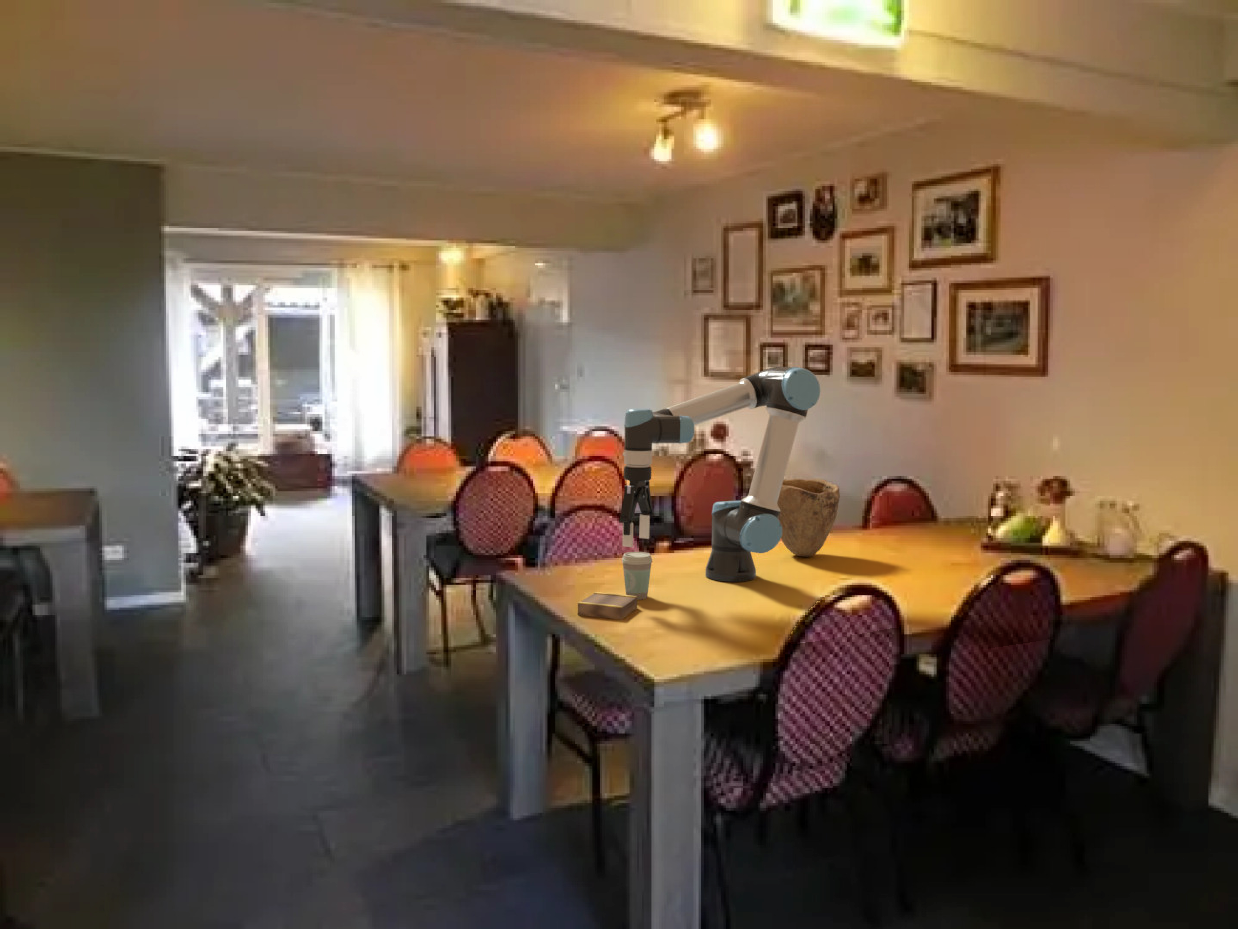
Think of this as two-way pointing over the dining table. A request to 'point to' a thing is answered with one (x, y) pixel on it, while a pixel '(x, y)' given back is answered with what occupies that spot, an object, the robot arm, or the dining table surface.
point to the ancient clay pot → (807, 514)
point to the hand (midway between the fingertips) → (636, 542)
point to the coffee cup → (637, 573)
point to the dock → (607, 605)
